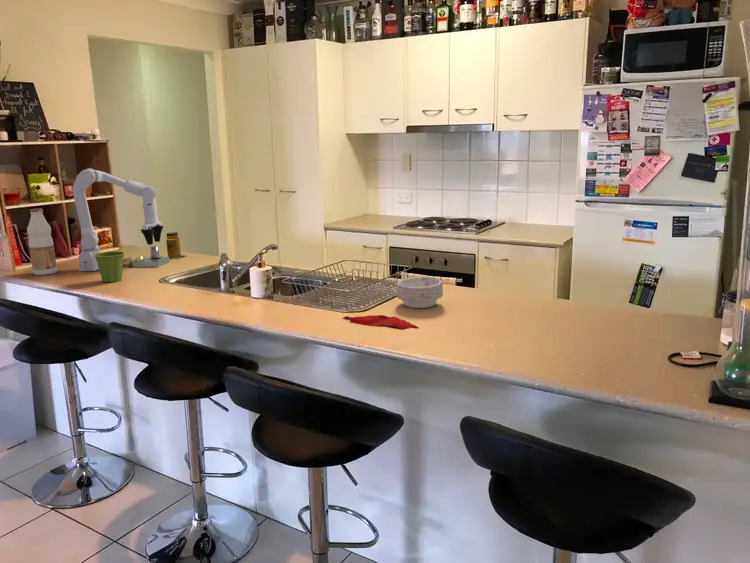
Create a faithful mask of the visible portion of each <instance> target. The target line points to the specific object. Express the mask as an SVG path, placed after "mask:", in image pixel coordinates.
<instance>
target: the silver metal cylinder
mask: <svg viewBox="0 0 750 563" xmlns="http://www.w3.org/2000/svg"><path fill="white" fill-rule="evenodd" d="M149 250H150V257H151V260H153V259H160V258H159V257H160V249H159V246H158V245H153V246H151V245H150V246H149Z"/></svg>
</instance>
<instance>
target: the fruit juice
mask: <svg viewBox="0 0 750 563" xmlns="http://www.w3.org/2000/svg"><path fill="white" fill-rule="evenodd" d="M29 212H30V218H29V222H28V225H27V228H26V231H27V235H28V236H29V237H28V247H29V249H28V250H29V254H30V261H31V268H32V272H33V275H35V276H45V275H46V274H47V275H51V274H52V275H53V274H56V273H57V272H58V268H57V266H58V265H57V261H56V260H57V259H56V253H55V244H54V241H53V240H54V239H53V237H52V235H51V234H52V228H51V225H50V224H49V223H48V222H47V219H46V218H45V215H44V214H43V213H44V209H43V208H31V209H29Z"/></svg>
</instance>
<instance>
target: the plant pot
mask: <svg viewBox="0 0 750 563" xmlns="http://www.w3.org/2000/svg"><path fill="white" fill-rule="evenodd" d="M125 255H126V251H119V250H115V251H103V252H101V251H100V253H96V254H94V256H95V258H96V261H97V263H98V266H99V269H98V270H99V273H100V276H101V280H102V282H103V283H108V282H109V283H117V281H118V282H120V281H122V280H123V279H122V278H123V268H124V267H123V259H125Z"/></svg>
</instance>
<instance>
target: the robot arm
mask: <svg viewBox="0 0 750 563" xmlns="http://www.w3.org/2000/svg"><path fill="white" fill-rule="evenodd" d="M95 182H98V183H100V182H107V183H109V184H112V185H115V186H119V187H121V188H123V190H124V191H125V192H126V193H128V194H130V195H131V194H132V195H135V196H137V197H142V200H143V203H142V208H143V209H142V210H143V216H144V218H143V219H144V224H143V225H141V226H142V229H140V232H141V233H142V234H143V237H144V239H145V241H146V244H147V245H148V246H151V245H153V244H154V242H155V243H160V242H161V235H162V231H163V229H164V225H162V222H161V220H159V218H158V206H157V200H156V190H155V188H154V187H152V186H151V185H147V184H146V183H141V182H138V181H136V179H133V178H132V179H127V180H124V179H122V178H120V177H118V176H115V175H113V174H111V173H107V172H105V171H101V170H97V169H96V170H95V169H94V168H90V167H89V168H86V169H82V170H81V171H80V172H79V173H78V174H77V175H76V179H75V180H74V183H73V186H72V189H71V191H72V194H73V198H74V203H75V208H76V212H77V213H76V214H77V217H78V222H79V225H80V233H81V234H80V235H81V239H80V245H81V247H82V248H81V252H80V253H79V254H78V264H79V265H78V266H79V269H78V272H92V271H93V272H96V271H98V270H99V266H98V263H97V261H96V258H95V256H94V254H96V253H101V250H100V247H99V245H98V243H99V241H100V240H99V239H100V238H99V237H98V236H97V234H96V233H95V232H96V231H95V229H94V227H93V222H92V218H91V214H90V209H89V208H90V207H89V204H88V201H87V195H86V190H87V189H88V188H89V187H90V186H91V185H92V184H93V183H95Z"/></svg>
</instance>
